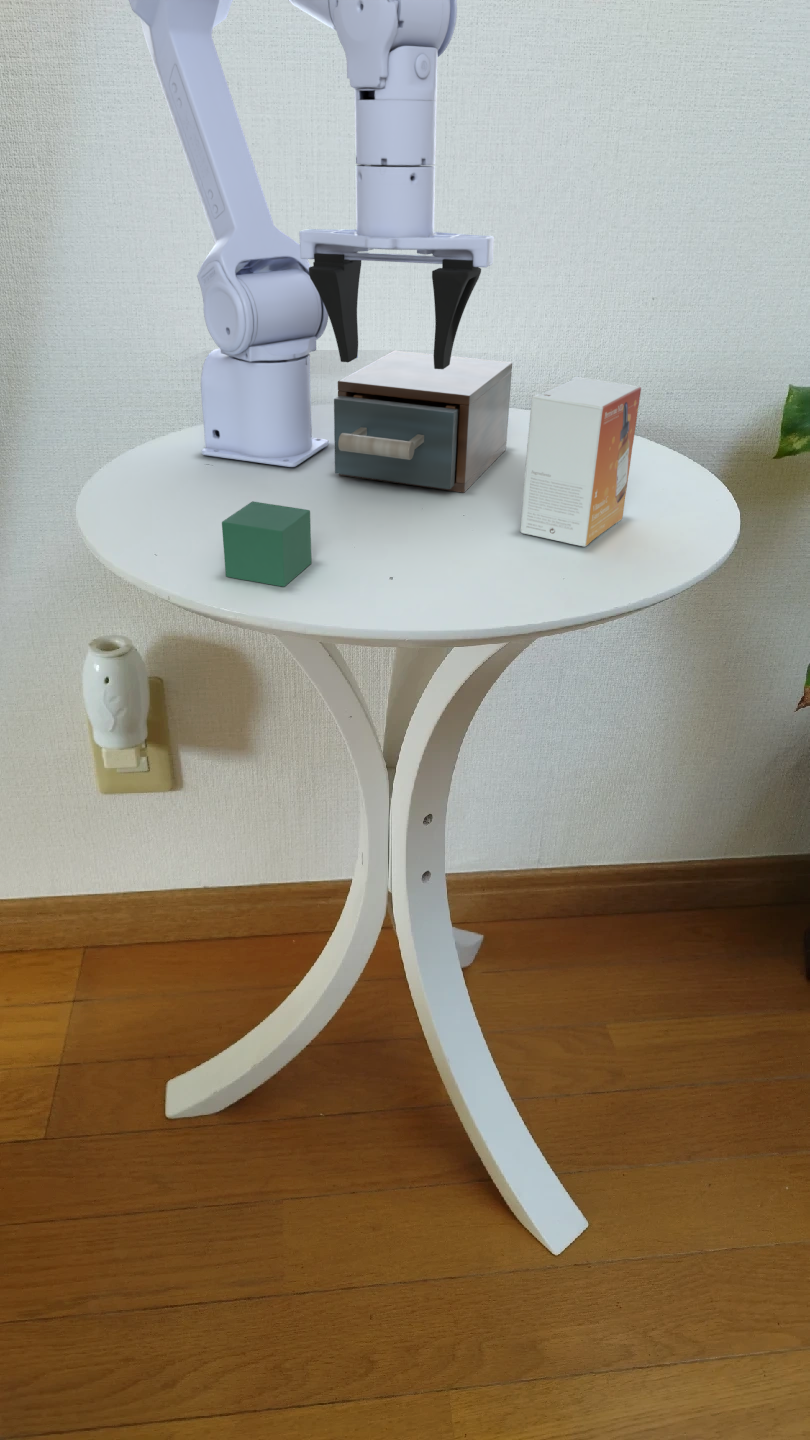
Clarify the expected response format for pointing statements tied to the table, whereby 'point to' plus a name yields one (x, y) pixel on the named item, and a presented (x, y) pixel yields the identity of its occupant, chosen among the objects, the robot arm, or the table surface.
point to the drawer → (396, 439)
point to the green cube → (267, 543)
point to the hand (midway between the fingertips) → (394, 363)
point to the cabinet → (447, 401)
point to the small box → (578, 459)
